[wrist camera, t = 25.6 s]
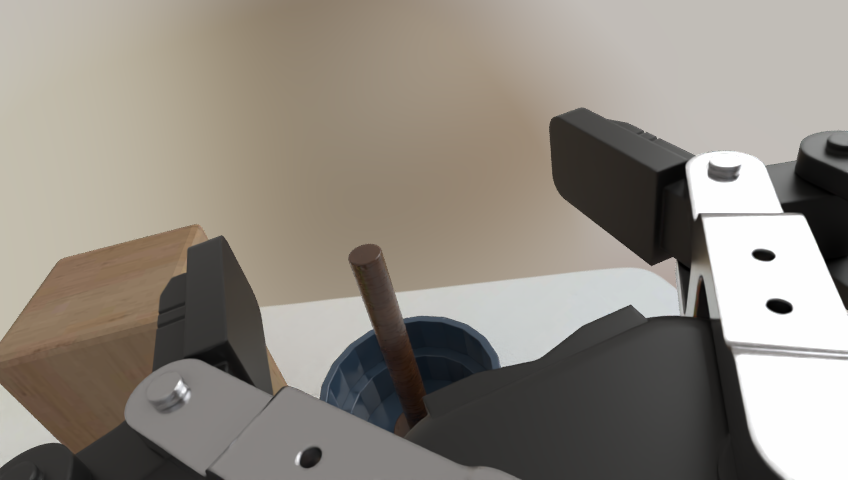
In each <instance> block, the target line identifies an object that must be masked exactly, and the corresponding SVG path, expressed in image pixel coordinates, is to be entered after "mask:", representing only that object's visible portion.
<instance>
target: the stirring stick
mask: <svg viewBox="0 0 848 480" xmlns="http://www.w3.org/2000/svg"><path fill="white" fill-rule="evenodd" d="M348 260H349V263H350V265H351V268H352V271H353V274H354V277H355V280H356V282H357V285H358V287H359V291H360V293H361V296H362V299H363V302H364V304H365V307H366V310H367V313H368V315H369V318H370V321H371V324H372V327H373V329H374V332H375V335H376V338H377V340H378V343H379V346H380V349H381V351H382V354H383V357H384V360H385V362H386V365H387V368H388V371H389V373H390V376H391V379H392V382H393V385H394V387H395V390H396V393H397V396H398V398H399V401H400V404H401V407H402V409H403V413H402V414H401V415H400V416H399V418H398V419H397V421H396V424H395V427H394V434H395V435H397V436H399V437H401V438H404V437H405V436H406V434H407V433H408V432H409V431H410V430H411V429H412V428H413V427H414V426H415V425H416V424H417V423H418V422H419V421H421V420H422V419H423V418H425V417H426V416H427V415H428V414H427V411H426V408H425V404H424V401H423V398H422V397H423V396H425V395H426V392H425V388H424V385H423V382H422V379H421V375H420V372H419V369H418V366H417V363H416V359H415V356H414V353H413V350H412V347H411V343H410V340H409V337H408V334H407V331H406V327H405V324H404V321H403V318H402V314H401V311H400V308H399V305H398V302H397V298H396V295H395V292H394V289H393V286H392V282H391V279H390V276H389V273H388V270H387V266H386V263H385V260H384V257H383V253H382V250H381V248H380V247H379V246H377V245H375V244H365V245H361V246H359V247H357V248H355V249H354V250H353V251H352V252H351V253H350V254H349V258H348Z"/></svg>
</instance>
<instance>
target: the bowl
mask: <svg viewBox="0 0 848 480" xmlns="http://www.w3.org/2000/svg"><path fill="white" fill-rule="evenodd" d="M403 321H404V324H405V327H406V331H407V334H408V337H409V340H410V343H411V347H412V350H413V353H414V356H415V359H416V363H417V366H418V369H419V372H420V375H421V379H422V382H423V385H424V388H425V392H426V395H427V394H430V393H432V392H434V391H437V390H439V389H441V388H443V387H446V386H448V385H450V384H452V383H455V382H457V381H459V380H461V379H464V378H466V377H468V376H470V375H473V374H475V373H478V372H483V371H488V370H492V369H497V368H501V366H500V361H499V357H498V355H497V353H496V352H495V351H494V349H493V348H492V346H491V345H490V343H489V342H488V340H487V339H486V338H485V337H484V336H483V335H481V334H480V333H479V332H477V331H476V330H474V329H473V328H471V327H470V326H469V325H467V324H464V323H461V322H458V321H455V320H452V319H449V318H446V317H445V318H444V317H434V316H416V317H410V318H405V319H403ZM320 400H322V401H324V402H326V403H328V404H331V405H333V406H335V407H337V408H339V409H341V410H343V411H346V412H348V413H350V414H352V415H354V416H356V417H359V418H361V419H363V420H365V421H367V422H369V423H371V424H374V425H376V426H378V427H380V428H382V429H384V430H386V431H389V432H391V433H393V434H394V427H395V424H396V421H397V419H398V418H399V416H400V415H401V414H402V413H403V409H402V407H401V404H400V401H399V398H398V396H397V393H396V390H395V387H394V385H393V382H392V379H391V376H390V373H389V371H388V368H387V365H386V362H385V360H384V357H383V354H382V351H381V349H380V346H379V343H378V340H377V338H376V335H375V332H374V329H373V330H370V331H369V332H367V333H366V334H365V335H363V336H362V337H360V338H359V339H357V340H356V341H354V342H353V343H351V344H350V345H349V346H348V347H347V348H346V349H345V351H344V352H343V353H342V354H341V355H340V356H339V357H338V358H337V359H336V361H335V362H334V363H333V364H332V366H331V368H330V370H329V372H328V374H327V376H326V378H325V380H324V382H323V384H322V387H321V394H320Z"/></svg>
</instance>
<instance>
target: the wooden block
mask: <svg viewBox="0 0 848 480" xmlns="http://www.w3.org/2000/svg"><path fill="white" fill-rule="evenodd" d="M207 240H208V238H207V236H206V234H205V232H204V230H203V228H202V227H201V226H200V225H197V224H194V225H190V226H187V227H183V228H179V229H175V230H171V231H167V232H163V233H159V234H155V235H151V236H147V237H143V238H140V239H136V240H132V241H128V242H124V243H120V244H116V245H113V246H109V247H105V248H101V249H97V250H93V251H89V252H85V253H81V254H77V255H73V256H69V257H66V258H63V259H61V260H59V261H58V262H57V263H56V265H55V266H54V268H53V269H52V270H51V272H50V273H49V275H48V276H47V277H46V279H45V280H44V282H43V283H42V284H41V286H40V287H39V289H38V290H37V291H36V293H35V294H34V296H33V297H32V298H31V300H30V301H29V303H28V304H27V305H26V307H25V308H24V310H23V311H22V312H21V314H20V315H19V317H18V318H17V319H16V321H15V322H14V324H13V325H12V326H11V328H10V329H9V331H8V332H7V333H6V335H5V336H4V338H3V339H2V340H1V342H0V384H1V385H2V386H3V387H4V388H5V389H6V390H7V391H8V392H9V393H10V394H11V395H12V396H13V397H15V398H16V399H17V400H18V401H19V402H20V403H21V404H22V405H23V406H24V407H25V408H26V409H27V410H28V411H29V412H30V413H31V414H32V415H33V416H34V417H35V418H36V419H37V420H38V421H39V422H40V423H41V424H42V425H43V426H44V427H45V428H46V429H47V430H48V431H49V432H50V433H51V434H52V435H53V436H54V437H55V438H56V439H57V440H59V441H60V442H61V443H62V444H63V445H65V446H66V447H68V448H69V449H70V450H71V451H72V452H73V453H74V454H76V453H78V452H79V451H81V450H83V449H84V448H86V447H87V446H89V445H90V444H92V443H93V442H95V441H96V440H98V439H99V438H101V437H102V436H104V435H105V434H107V433H108V432H110V431H111V430H113V429H114V428H116V427H117V426H118V425H120V424H121V423H122V422H123V421H125V415H124V411H125V406H126V403H127V401H128V399H129V397H130V395H131V394H132V392H133V391H134V389H135V388H136V387H137V386H138V385H139V384H140V383H141V382H142V381H143V380H144V379H145V378H146V377H147V376H149V375H150V374H151V373H152V369H153V359H154V349H155V339H156V330H157V329H158V327H157V320H158V315H159V312H158V310H159V300H160V295H161V293H162V292H163V290H164V289H165V287H166V285H167V284H168V282H169V281H170V279H171V278H172V277H175V276H177V275H180V274H183V273H186V270H187V249H188V247H191V246H193V245H196V244H199V243H202V242H205V241H207ZM266 350H267V356H268V363H269V369H270V375H271V382H272V388H273V395H275V394H276V393H277V392H278V391H279V390H280V389H281V388H282V387H283V386H288V385H287V383H286V382H285V380H284V378H283V376H282V374H281V372H280V371H279V369H278V367H277V365H276V363H275V361H274V359H273V358H272V356H271V354H270V352H269V350H268V348H267V347H266Z"/></svg>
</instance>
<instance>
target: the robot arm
mask: <svg viewBox="0 0 848 480" xmlns="http://www.w3.org/2000/svg"><path fill="white" fill-rule="evenodd" d="M549 132H550V145H551V161H552V174H553V180H554V184H555V186H556V188H557V190H558V192H559V193H560V195H561V196H562V197H563V198H564V199H565V200H567V201H568V202H569V203H570V204H572V205H573V206H574V207H576V208H577V209H578V210H580V211H581V212H582V213H583V214H585V215H586V216H587V217H589V218H590V219H591V220H592V221H594V222H595V223H596V224H598V225H599V226H600V227H602V228H603V229H604V230H605V231H607V232H608V233H609V234H611V235H612V236H613V237H615V238H616V239H617V240H618V241H620V242H621V243H622V244H624V245H625V246H626V247H627V248H629V249H630V250H631V251H633V252H634V253H635V254H637V255H638V256H639V257H640V258H642V259H643V260H644V261H645V262H647V263H648V264H649V265H651V266H653V265H655V264H657V263H660V262H662V261H664V260H666V259H669V258H671V257H674V258H675V259H677V260H676V273H675V274H676V282H677V293H678V302H679V311H680V316H659V317H650V318H645V317H644V316H643V315H642V314H641V313H640V312H638V311H637V310H636V309H635V308H634V307H633V306H632V305H629V306H627V307H624V308H622V309H620V310H618V311H615V312H613V313H611V314H608V315H606V316H604V317H602V318H599V319H597V320H595V321H593V322H590V323H588V324H586V325H584V326H582V327H581V328H579V329H578V330H577V331H575V332H574V333H573V334H571V335H570V336H569V337H568V338H566V339H565V340H564V341H562V342H561V343H560V344H559V345H557V346H556V347H555V348H553V349H552V350H551V351H549V352H548V353H547V354H546V355H544V356H543V357H541V358H540V359H537V360H535V361H531V362H526V363H521V364H516V365H512V366H507V367H502V368H497V369H492V370H488V371H483V372H478V373H475V374H473V375H470V376H468V377H466V378H464V379H461V380H459V381H457V382H455V383H452V384H450V385H448V386H446V387H443V388H441V389H439V390H437V391H434V392H432V393H430V394H427V395H425V396H423V397H422V398H423V401H424V404H425V408H426V411H427V414H428V415H427V416H426V417H425V418H423V419H422V420H421V421H419V422H418V423H417V424H416V425H415V426H414V427H413V428H412V429H411V430H410V431H409V432H408V433H407V434H406V436H405V437H404V438H401V437H399V436H397V435H395V434H393V433H391V432H389V431H386V430H384V429H382V428H380V427H378V426H376V425H374V424H371V423H369V422H367V421H365V420H363V419H361V418H359V417H356V416H354V415H352V414H350V413H348V412H346V411H343V410H341V409H339V408H337V407H335V406H333V405H331V404H328V403H326V402H324V401H322V400H320V399H318V398H316V397H313V396H311V395H309V394H307V393H305V392H303V391H301V390H298V389H296V388H294V387H290V386H283V387H282V388H281V389H280V390H279V391H278V392H277V393H276V394H275V395H273V388H272V382H271V375H270V369H269V363H268V356H267V350H266V343H265V337H264V331H263V324H262V318H261V313H260V309H259V306H258V303H257V300H256V297H255V295H254V293H253V290H252V288H251V286H250V284H249V283H248V281H247V279H246V277H245V275H244V273H243V271H242V269H241V267H240V265H239V264H238V261H237V260H236V257H235V256H234V254H233V252H232V250H231V248H230V246H229V244H228V242H227V241H226V239H225V238H224V237H223V236H222V235H221V236H219V237H216V238H213V239H210V240H207V241H205V242H202V243H199V244H196V245H193V246H191V247H188V249H187V270H186V273H183V274H180V275H177V276H175V277H172V278H171V279H170V281H169V282H168V284H167V285H166V287H165V289H164V290H163V292H162V293H161V295H160V300H159V310H158V312H159V315H158V320H157V327H158V329H157V330H156V339H155V349H154V359H153V369H152V373H151V374H150V375H149V376H147V377H146V378H145V379H144V380H143V381H142V382H141V383H140V384H139V385H138V386H137V387H136V388H135V389H134V391H133V392H132V394H131V395H130V397H129V399H128V401H127V403H126V406H125V411H124V415H125V421H123V422H122V423H121V424H120V425H118V426H117V427H116V428H114V429H113V430H111V431H110V432H108V433H107V434H105V435H104V436H102V437H101V438H99V439H98V440H96V441H95V442H93V443H92V444H90V445H89V446H87V447H86V448H84V449H83V450H81V451H79V452H78V453H76V454H74V453H73V452H72V451H71V450H70V449H69V448H68V447H66V446H65V445H63V444H60V443H48V444H43V445H39V446H36V447H34V448H31V449H29V450H27V451H25V452H23V453H21V454H20V455H18V456H16V457H15V458H13V459H12V460H10V461H9V462H8V463H6V464H5V465H4V466H2V467H1V468H0V480H848V314H847V312H846V309H847V310H848V131H826V132H820V133H816V134H812V135H810V136H807V137H806V138H804V139H803V140H802V141H801V144H800V148H799V152H798V157H797V160H796V161H791V162H785V163H779V164H774V165H767V166H765V165H764V163H763V162H762V161H761V160H759V159H757V158H756V157H754V156H751V155H748V154H745V153H741V152H735V151H712V152H707V153H702V154H700V155H697V156H695V155H693V154H691V153H689V152H687V151H685V150H683V149H681V148H679V147H677V146H675V145H672V144H670V143H668V142H666V141H664V140H662V139H657V138H656V136H654V135H652V134H649V133H648V132H646V133H644V131H643V130H641V129H639V128H637V127H635V126H633V125H631V124H629V123H625V122H620V121H614V120H609V119H605V118H604V117H602V116H600V115H598V114H596V113H594V112H592V111H590V110H588V109H586V108H578V109H575V110H573V111H570V112H567V113H564V114H561V115H559V116H556V117H553V118H552V119H551V122H550V126H549Z"/></svg>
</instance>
